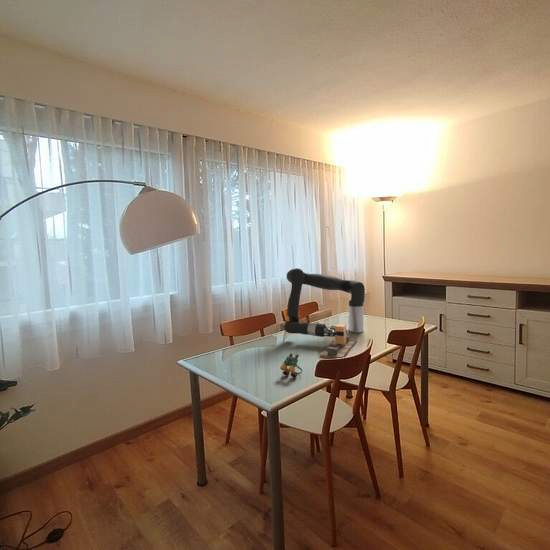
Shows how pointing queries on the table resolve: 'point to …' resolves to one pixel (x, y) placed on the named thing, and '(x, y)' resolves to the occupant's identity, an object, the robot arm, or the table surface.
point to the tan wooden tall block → (340, 338)
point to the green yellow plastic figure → (292, 363)
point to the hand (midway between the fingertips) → (345, 332)
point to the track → (338, 349)
